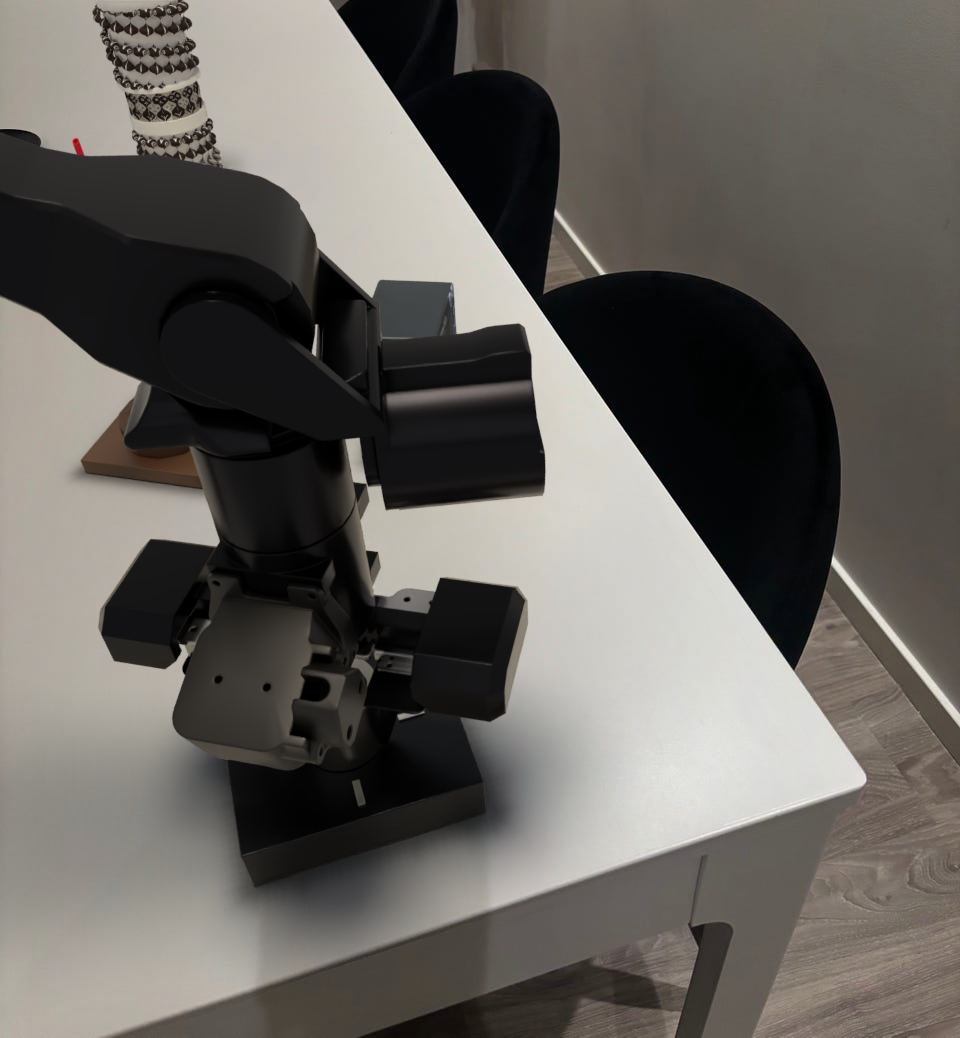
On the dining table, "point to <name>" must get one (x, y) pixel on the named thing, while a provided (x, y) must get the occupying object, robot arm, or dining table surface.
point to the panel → (356, 799)
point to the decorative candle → (158, 77)
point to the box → (415, 309)
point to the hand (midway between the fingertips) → (341, 729)
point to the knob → (365, 738)
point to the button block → (139, 458)
